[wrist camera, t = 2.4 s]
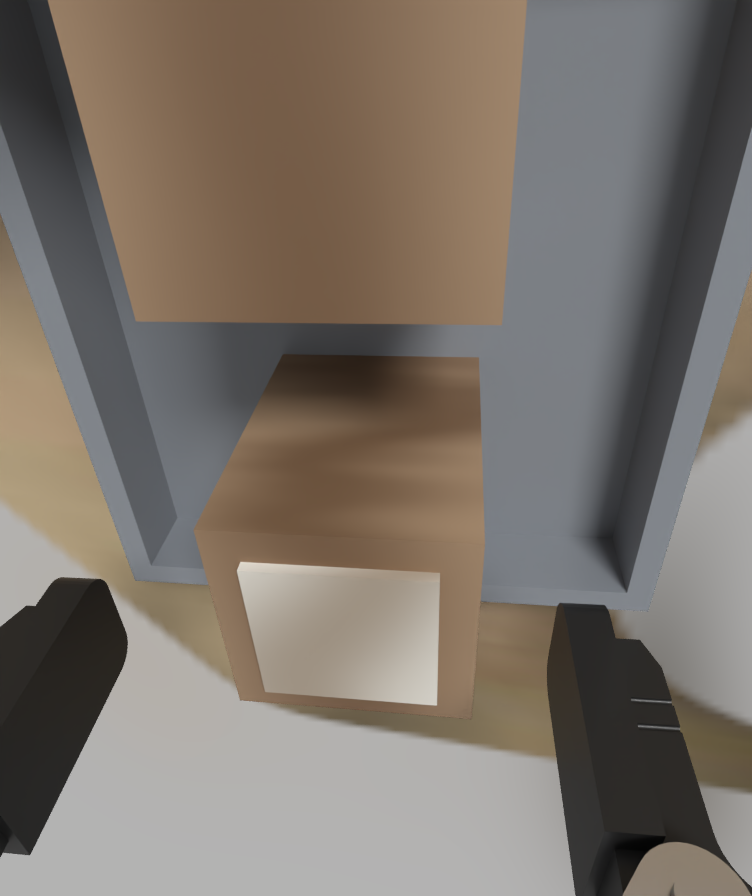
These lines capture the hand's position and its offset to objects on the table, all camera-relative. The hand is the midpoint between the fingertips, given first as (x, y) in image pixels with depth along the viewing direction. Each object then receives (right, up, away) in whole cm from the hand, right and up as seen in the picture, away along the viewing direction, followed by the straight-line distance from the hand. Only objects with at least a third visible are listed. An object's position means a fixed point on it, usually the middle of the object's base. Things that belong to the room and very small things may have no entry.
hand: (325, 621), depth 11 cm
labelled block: (+1, +3, +4) cm, 6 cm away
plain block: (+1, +10, 0) cm, 10 cm away
